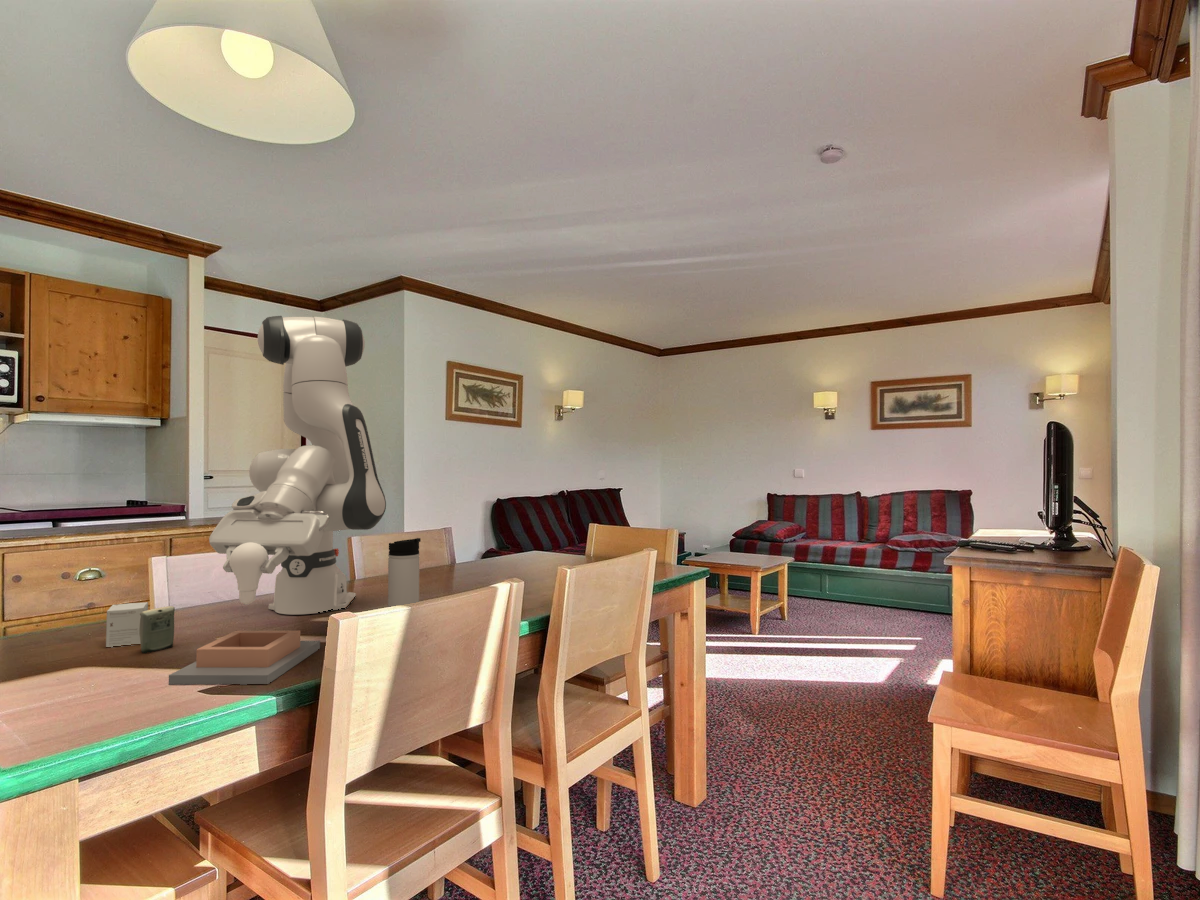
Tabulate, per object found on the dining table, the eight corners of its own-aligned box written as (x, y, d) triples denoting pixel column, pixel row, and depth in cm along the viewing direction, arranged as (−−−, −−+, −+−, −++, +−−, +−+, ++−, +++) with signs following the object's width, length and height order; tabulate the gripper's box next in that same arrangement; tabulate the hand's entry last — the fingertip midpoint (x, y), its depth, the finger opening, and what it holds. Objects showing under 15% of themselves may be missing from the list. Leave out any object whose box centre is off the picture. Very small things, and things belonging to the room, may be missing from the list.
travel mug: (411, 638, 132) (412, 540, 133) (382, 636, 134) (382, 539, 134) (425, 630, 139) (426, 536, 139) (397, 628, 140) (398, 536, 140)
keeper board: (236, 648, 125) (237, 625, 125) (319, 648, 125) (320, 625, 125) (168, 684, 105) (169, 656, 105) (267, 684, 105) (267, 656, 105)
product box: (105, 648, 125) (105, 610, 125) (111, 640, 130) (111, 604, 130) (143, 644, 128) (144, 607, 128) (148, 637, 133) (148, 601, 133)
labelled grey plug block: (159, 654, 121) (159, 611, 121) (131, 654, 121) (131, 611, 121) (178, 645, 127) (179, 604, 127) (151, 645, 127) (152, 604, 127)
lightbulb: (243, 610, 110) (246, 545, 110) (219, 605, 113) (222, 542, 113) (274, 603, 116) (277, 542, 116) (250, 599, 118) (253, 539, 118)
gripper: (339, 522, 124) (308, 583, 114) (243, 520, 127) (205, 579, 118) (326, 500, 120) (292, 561, 110) (227, 499, 123) (186, 559, 113)
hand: (246, 571), depth 114 cm, fingers closed on lightbulb, 6 cm apart
